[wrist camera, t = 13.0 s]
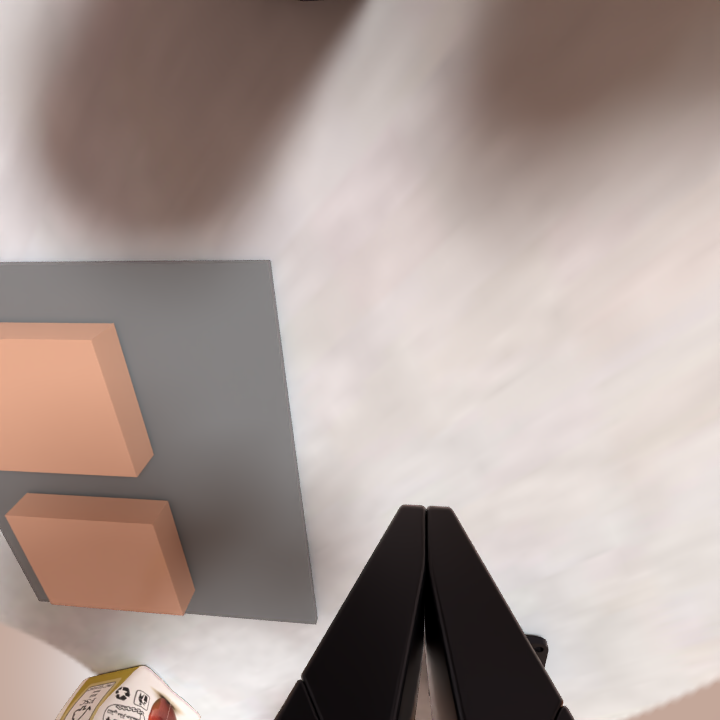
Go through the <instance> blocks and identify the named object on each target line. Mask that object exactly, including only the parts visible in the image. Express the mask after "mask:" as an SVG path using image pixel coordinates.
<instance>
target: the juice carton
mask: <svg viewBox="0 0 720 720" xmlns="http://www.w3.org/2000/svg"><path fill="white" fill-rule="evenodd" d="M200 718H201V716H200V715H199V713H198V712H197V711H196V710H195V709H194V708H192V707H191V706H190V705H189V704H188V703H187V702H186V701H184V700H183V699H182V698H181V697H180V696H178V695H177V694H176V693H175V692H173V691H172V690H171V689H170V687H169V686H168V685H167V684H166V683H165V682H164V681H163V680H162V679H161V678H160V677H159V676H157V675H156V674H155V673H154V672H153V671H152V670H151V669H150V668H148V667H146V666H138V667H133V668H129V669H125V670H120V671H116V672H111V673H107V674H102V675H98V676H93V677H89V678H87V679H85V680H84V681H83V682H82V683H81V684H80V685H79V687H78V688H77V689H76V691H75V692H74V693H73V695H72V696H71V698H70V699H69V700H68V702H67V703H66V704H65V706H64V707H63V709H62V710H61V711H60V713H59V714H58V716H57V717H56V719H55V720H200Z"/></svg>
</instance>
